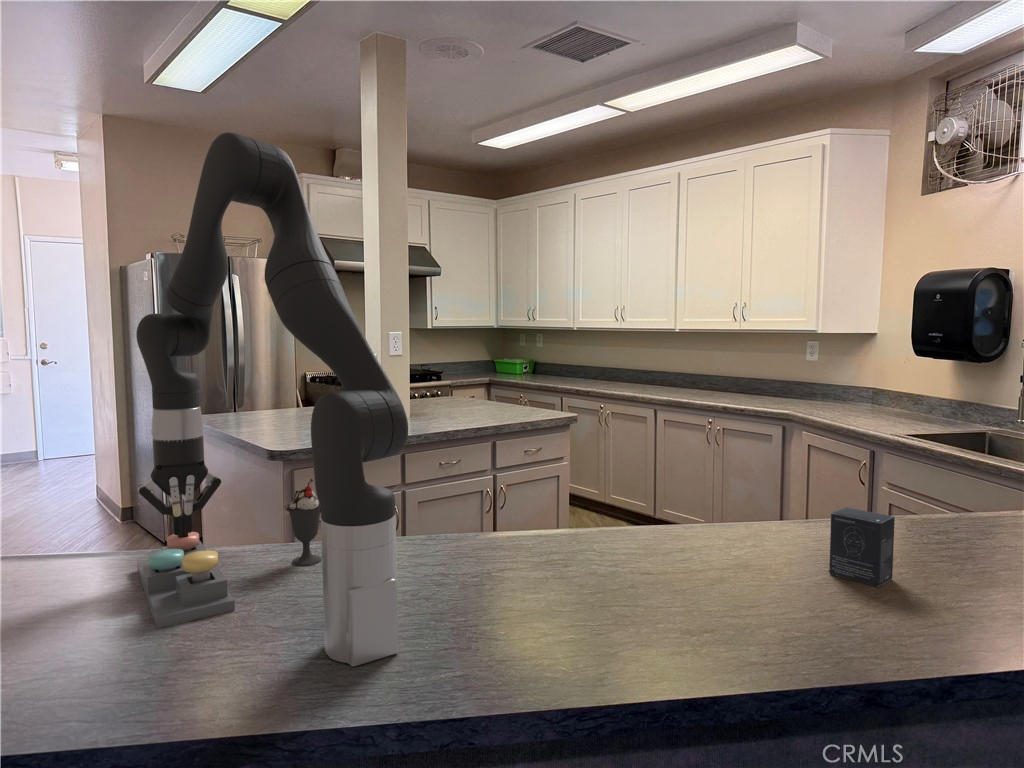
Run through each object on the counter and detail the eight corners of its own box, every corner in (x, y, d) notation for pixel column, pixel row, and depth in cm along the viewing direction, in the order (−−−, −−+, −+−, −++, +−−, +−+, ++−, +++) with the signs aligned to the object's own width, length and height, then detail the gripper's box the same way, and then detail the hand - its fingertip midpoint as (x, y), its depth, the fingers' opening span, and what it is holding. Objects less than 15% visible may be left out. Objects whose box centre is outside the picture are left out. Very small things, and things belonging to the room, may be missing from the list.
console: (234, 610, 95) (233, 583, 95) (157, 628, 89) (155, 600, 89) (201, 558, 116) (200, 536, 116) (137, 570, 111) (136, 547, 110)
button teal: (187, 580, 101) (186, 555, 100) (152, 588, 98) (150, 561, 98) (182, 571, 105) (181, 546, 104) (148, 578, 102) (146, 552, 102)
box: (892, 579, 106) (895, 516, 105) (878, 588, 102) (881, 522, 101) (843, 566, 112) (845, 505, 111) (827, 574, 108) (830, 511, 107)
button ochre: (221, 584, 96) (220, 557, 96) (186, 591, 93) (184, 564, 93) (215, 574, 100) (214, 548, 100) (180, 581, 97) (179, 554, 97)
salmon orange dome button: (202, 561, 109) (201, 537, 109) (170, 567, 107) (169, 542, 106) (197, 553, 113) (196, 530, 113) (166, 558, 111) (165, 535, 110)
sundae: (320, 568, 112) (317, 482, 110) (281, 567, 112) (278, 481, 110) (331, 554, 118) (329, 473, 117) (294, 554, 118) (292, 473, 117)
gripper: (134, 441, 101) (140, 550, 103) (225, 433, 109) (229, 534, 110) (130, 435, 107) (135, 537, 109) (216, 428, 115) (220, 523, 117)
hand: (182, 536), depth 110 cm, fingers closed
